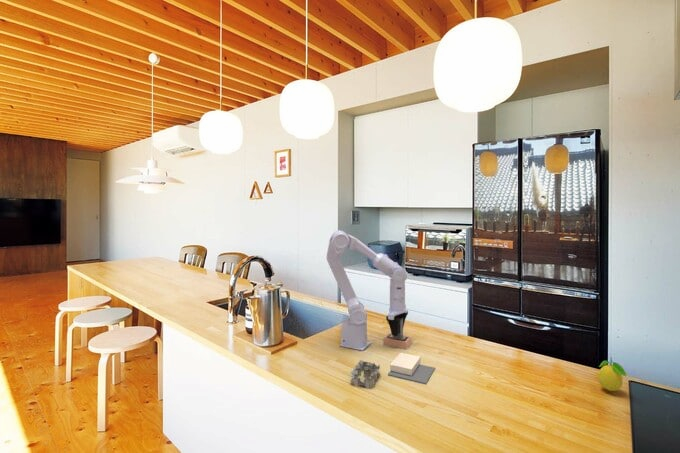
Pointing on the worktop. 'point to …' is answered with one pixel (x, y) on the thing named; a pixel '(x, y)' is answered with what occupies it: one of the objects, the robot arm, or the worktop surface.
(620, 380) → the lemon
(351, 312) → the robot arm
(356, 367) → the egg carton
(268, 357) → the worktop surface
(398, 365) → the glazed tile
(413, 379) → the mat
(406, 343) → the pusher holder
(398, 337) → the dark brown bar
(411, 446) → the worktop surface
